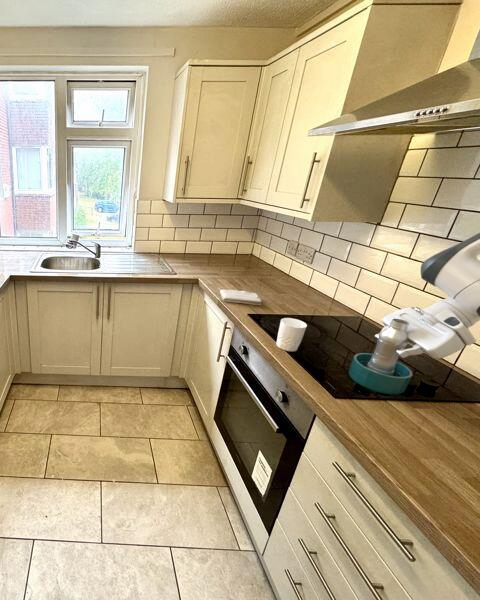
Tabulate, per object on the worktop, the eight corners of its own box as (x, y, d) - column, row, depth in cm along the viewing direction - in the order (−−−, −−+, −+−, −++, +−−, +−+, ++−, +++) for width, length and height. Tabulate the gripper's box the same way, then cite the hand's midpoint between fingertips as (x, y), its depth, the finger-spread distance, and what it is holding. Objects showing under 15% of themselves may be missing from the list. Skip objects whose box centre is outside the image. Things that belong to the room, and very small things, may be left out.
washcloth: (262, 306, 151) (263, 300, 150) (222, 302, 155) (223, 296, 154) (256, 297, 161) (257, 291, 160) (219, 293, 166) (220, 288, 164)
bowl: (390, 373, 101) (397, 357, 99) (414, 399, 89) (423, 382, 87) (341, 365, 105) (346, 349, 103) (358, 389, 94) (365, 372, 91)
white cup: (277, 339, 121) (284, 315, 117) (301, 347, 116) (309, 322, 112) (271, 346, 116) (278, 322, 112) (296, 355, 111) (303, 329, 107)
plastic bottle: (386, 377, 98) (412, 319, 91) (391, 388, 93) (420, 328, 85) (360, 370, 101) (383, 314, 94) (363, 381, 96) (388, 323, 88)
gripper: (407, 297, 96) (360, 323, 102) (469, 328, 78) (407, 357, 83) (419, 312, 97) (371, 337, 103) (482, 345, 78) (419, 373, 84)
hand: (387, 346), depth 93 cm, fingers open, 8 cm apart
